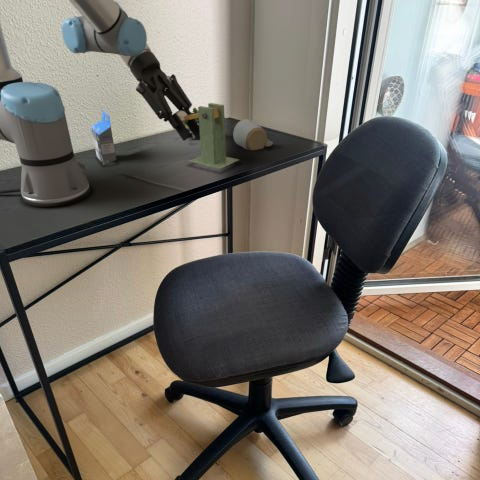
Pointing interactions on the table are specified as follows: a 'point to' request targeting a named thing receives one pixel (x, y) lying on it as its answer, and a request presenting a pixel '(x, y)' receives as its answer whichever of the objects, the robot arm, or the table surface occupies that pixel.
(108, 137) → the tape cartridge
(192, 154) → the table surface
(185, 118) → the lever
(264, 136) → the ceramic mug
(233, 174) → the table surface
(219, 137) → the bracket
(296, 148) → the table surface
